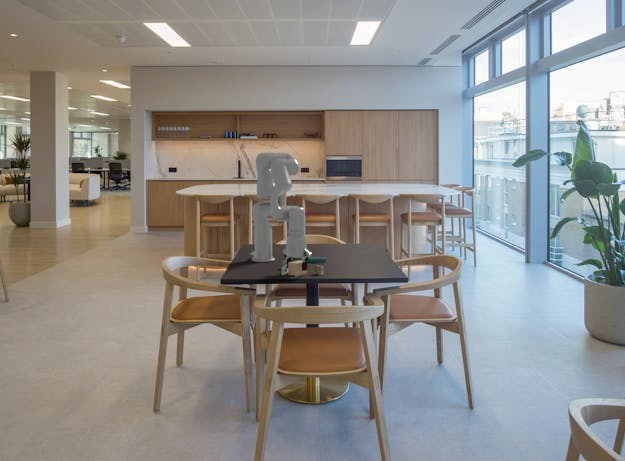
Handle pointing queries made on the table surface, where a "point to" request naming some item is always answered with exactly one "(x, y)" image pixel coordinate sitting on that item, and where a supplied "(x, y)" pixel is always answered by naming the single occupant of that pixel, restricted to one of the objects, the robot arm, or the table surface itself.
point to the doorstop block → (296, 268)
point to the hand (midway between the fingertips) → (296, 269)
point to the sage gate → (284, 270)
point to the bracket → (313, 259)
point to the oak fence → (318, 269)
